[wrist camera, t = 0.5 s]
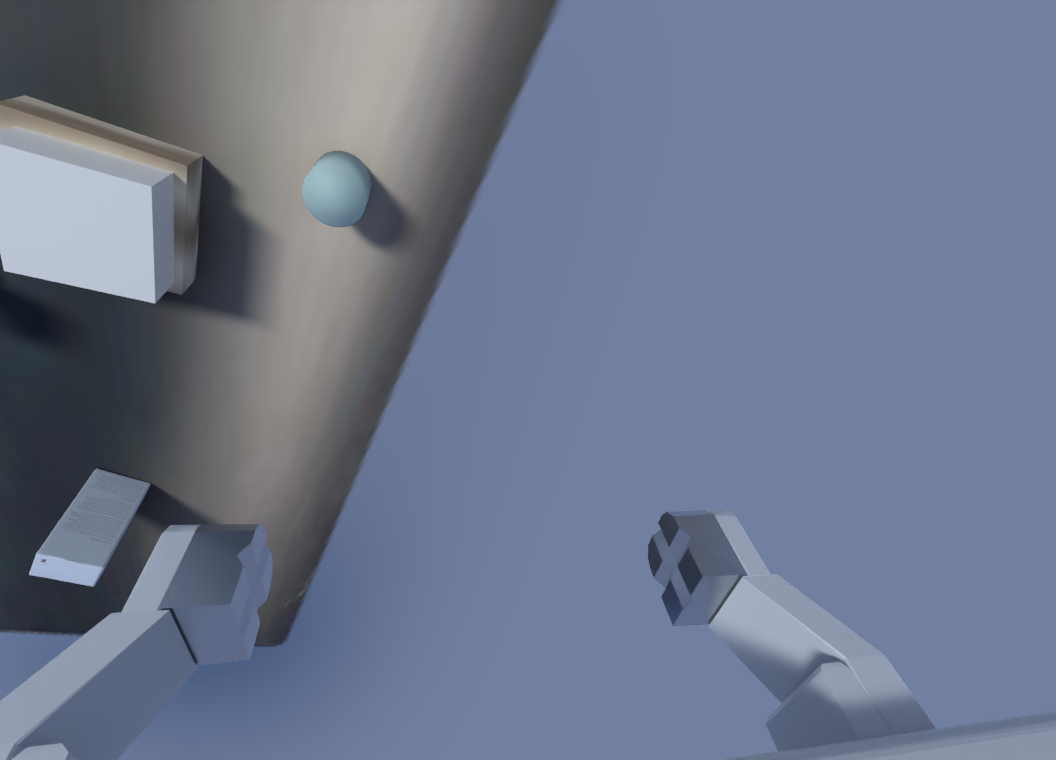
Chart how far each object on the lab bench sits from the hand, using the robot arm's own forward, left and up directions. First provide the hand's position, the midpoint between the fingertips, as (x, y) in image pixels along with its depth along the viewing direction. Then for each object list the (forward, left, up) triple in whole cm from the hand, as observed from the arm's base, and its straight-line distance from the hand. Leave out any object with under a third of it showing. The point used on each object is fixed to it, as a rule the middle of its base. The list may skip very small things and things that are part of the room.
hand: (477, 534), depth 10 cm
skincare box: (+53, -25, -43) cm, 73 cm away
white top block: (+15, -24, -39) cm, 48 cm away
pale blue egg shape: (+7, -7, -43) cm, 44 cm away
